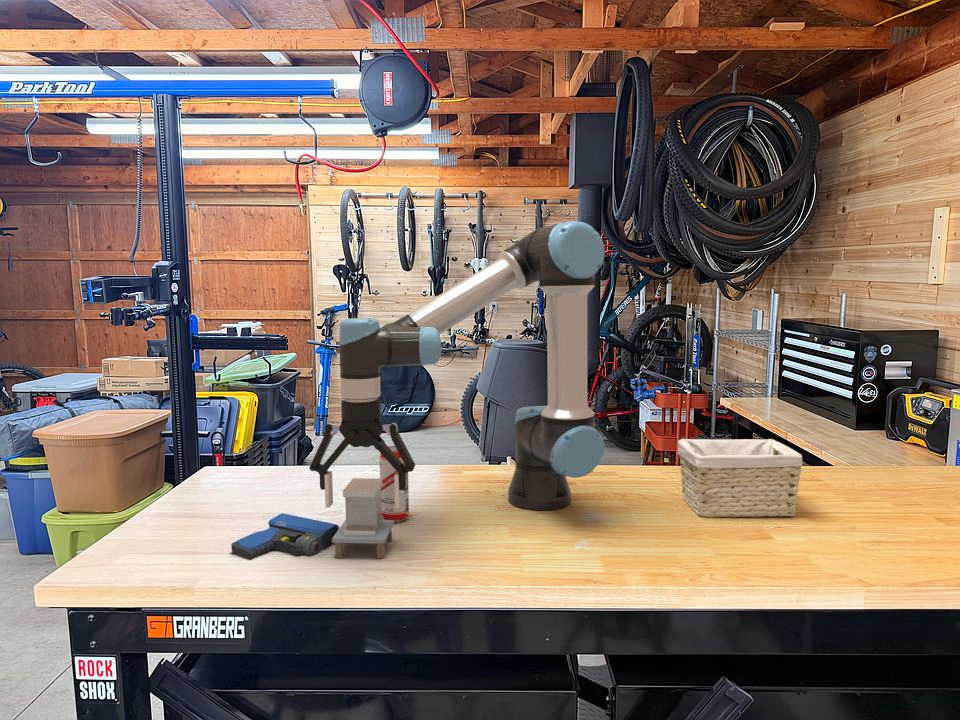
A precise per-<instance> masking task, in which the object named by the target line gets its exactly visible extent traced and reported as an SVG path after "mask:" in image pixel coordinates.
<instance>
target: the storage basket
mask: <svg viewBox="0 0 960 720" xmlns="http://www.w3.org/2000/svg"><path fill="white" fill-rule="evenodd" d="M677 454H678V455H679V459H680V460H679V464H680V467H679V468H680V473H681V475H680V476H681V477H680V478H681V480H680V481H681V487H682V488H681V490H682V492H681V493H682V499H683V501H685V502H686V503H687V505H688V506H689V507H690V508H691V509H692V510H693V511H694V513H695V514H696V515H698V516H699V517H703V518H704V517H706V518H716V517H717V518H718V517H720V518H726V517H730V518H738V517H743V518H746V517H751V518H752V517H753V518H754V517H757V518H761V517H769V518H770V517H772V518H773V517H795V516H796V509H797V500H798V492H799V485H800V484H799V483H800V476H801V473H802V466H803V455H802V454H801V453H799V452H798V451H796V450H794V449H793V448H791V447H789V446H787V445H786V444H783V443H782V442H780V441H777V440H775V439H773V438H768V439H756V438H755V439H753V438H752V439H748V438H744V439H743V438H742V439H740V438H739V439H738V438H737V439H704V438H703V439H698V438H697V439H694V438H693V439H691V438H681V439H679V440H678V441H677Z"/></svg>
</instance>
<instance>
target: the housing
mask: <svg viewBox="0 0 960 720" xmlns="http://www.w3.org/2000/svg"><path fill="white" fill-rule="evenodd" d="M381 486H382V479H380V478H368V477H367V478H358V477H357V478H356V477H355V478H352V479H351V480H350V481H349V483H348V484H347V485H346V486H345V488H344V489H343V490H342V497H343V498H344V499H345V503H344V504H345V520H346V528H345V530H344V537H376V535H377V533H378V531H379V529H380V527H381V525H382V523H383V520H384V519H383V516H382V510H381Z"/></svg>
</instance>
